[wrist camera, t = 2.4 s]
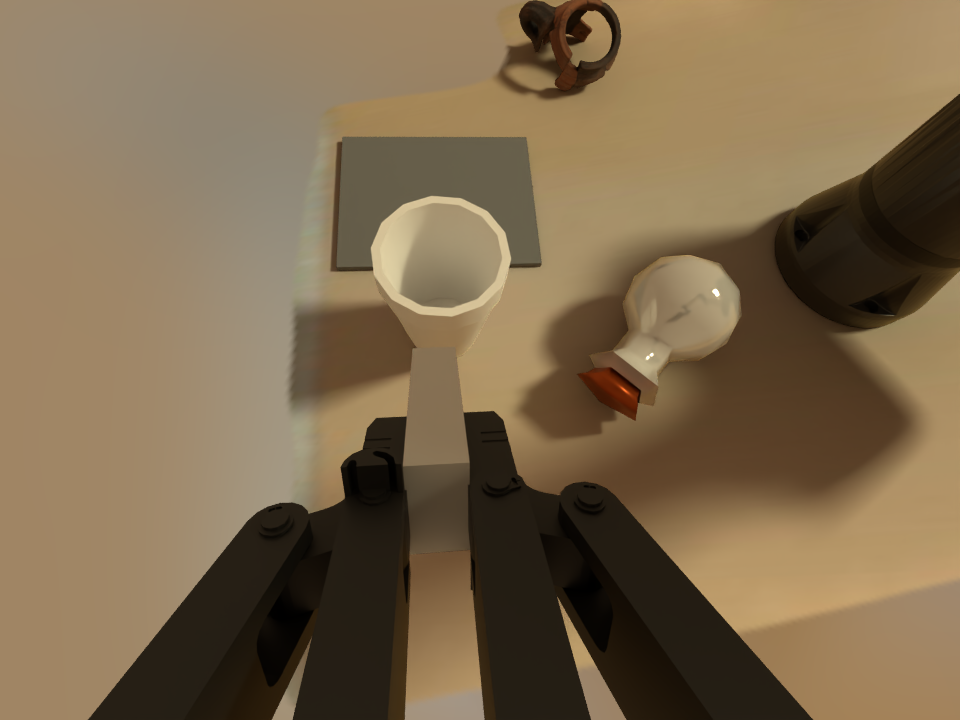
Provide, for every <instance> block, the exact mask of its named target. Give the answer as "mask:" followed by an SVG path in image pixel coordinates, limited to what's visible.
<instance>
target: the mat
mask: <svg viewBox="0 0 960 720" xmlns="http://www.w3.org/2000/svg"><path fill="white" fill-rule="evenodd" d="M429 196H440V197H452V198H462V199H464V200H466V201H468V202H470V203H472V204H474V205H476V206H478V207H480V208H482V209H484V210H486V211H488V212H489V214H490V215H491V216H492V217H493V218H494V220H495V221H496V222H497V223H498V224H499V226H500V227H501V228H502V229H503V230H504V232H505V234H506V238H507V242H508V247H509V251H510V255H511V262H510V266H509V267H529V266H541V263H542V262H541V254H540V246H539V238H538V229H537V221H536V213H535V205H534V196H533V188H532V180H531V172H530V163H529V155H528V147H527V139H526V137H342V158H341V179H340V200H339V221H338V242H337V264H336V268H337V270H373V262H372V254H371V246H372V244H373V242H374V239H375V237H376V234H377V232H378V230H379V227H380V225H381V223H382V222H383V221H384V220H385V219H386V218H388V217H389V216H390V215H391V214H392V213H394V212H395V211H396V210H397V209H398V208H400V207H401V206H402V205H403V204H406V203H409V202H413V201H416V200H419V199H423V198H426V197H429Z"/></svg>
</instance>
